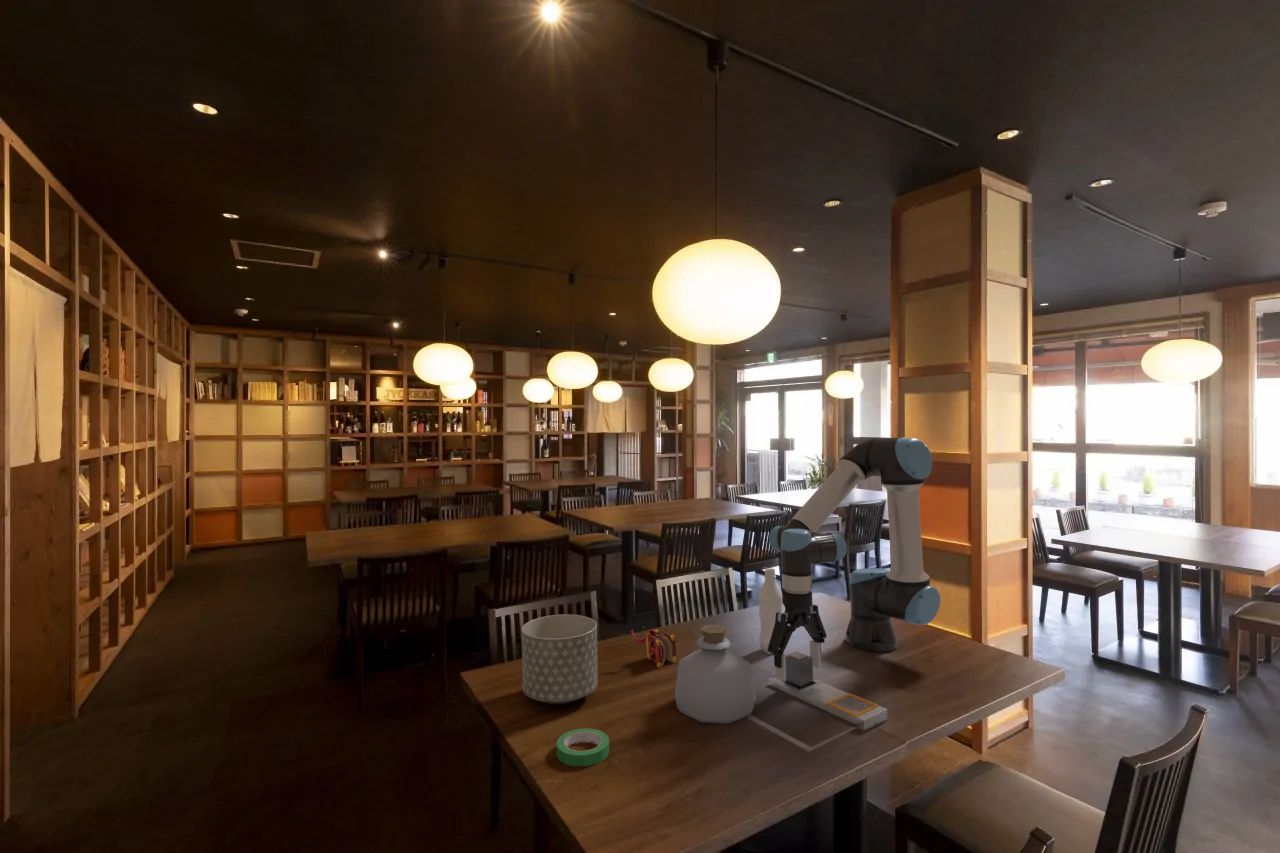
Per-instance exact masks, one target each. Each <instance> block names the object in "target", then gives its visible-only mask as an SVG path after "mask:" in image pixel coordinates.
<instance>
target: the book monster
mask: <svg viewBox="0 0 1280 853" xmlns="http://www.w3.org/2000/svg"><path fill="white" fill-rule="evenodd" d="M630 632H631V636H633V638H634V640H635V641H636V642H637V644H640V643H641V644H642V643H644V642H645V644H646V655H647V656H646V657H647V658H649V659H651V660H650V661H653V663H654V664H656V667H657V668H659V669H661V668H662V666H664V664H665V662H669V661H672V662H673V663H674V662H675V663H676V662H677V660H678V659H677V658H678V657H677V648H676V641H675V640H676V634H670V633H668V632H666V631H665V632H664V631H660V630H659V629H649V630H648V631H647V632H645V636H644V638H641V639H638V638H637V637H636V636H635V633H634V629H632V630H630Z"/></svg>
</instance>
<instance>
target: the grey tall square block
mask: <svg viewBox="0 0 1280 853" xmlns="http://www.w3.org/2000/svg"><path fill="white" fill-rule="evenodd" d="M785 655H786V681H785V683H787V684H789V685H791V686H793V687H796V688H798V689H800V690H801V689H803V688H806V687H808V686H811V685H813V679H814V675H813V674H814V670H813V668H814V667H813V660H812V657H810V655H807V654H803V653H802V652H799V651H796V652H792V653H789V654H785Z"/></svg>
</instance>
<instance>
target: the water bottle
mask: <svg viewBox="0 0 1280 853" xmlns="http://www.w3.org/2000/svg"><path fill="white" fill-rule="evenodd" d="M763 577H764V582H763V584H762V585H761V588H760V589H759V593H758V599H759V600H758V604H759V606H758V608H759V609H758V611H759V612H758V617H759V619H760V620H759V621H760V631H759V639H758V640H759V647H760V650H761V651H762V652H763V653H765V654H767V655H773V653H771V652H768V646H769V642H770V639H771V635H772V632H773V628H774V625H775V620H776V613H777V612H779V613H784V611H783V603H782V590H781V588H780V587H779V585H778V583H777V581H776V578H777V576H776V569H775V568H769V567H768V568H765V569H764V576H763ZM779 650H780V648H779Z"/></svg>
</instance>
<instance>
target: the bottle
mask: <svg viewBox="0 0 1280 853" xmlns="http://www.w3.org/2000/svg"><path fill="white" fill-rule="evenodd" d="M700 631H701V634H702V636H701V637H700V638H698V639H697V640H696V645H697V646H698V647H699V648H701V649H699V650H695V651H693V652H692V653H690V654H688V655H685V656H684V657H682V658H680V659H679V660H678V661H679V662H678V667H677V676H676V681H675V682H676V683H675V689H674V698H675V702H676V703H675V704H676V707H677V709H678V711H679V712H680V713H681V714H682V715H685V716H687V717H689V718H690V719H694V720H695V721H697V722H699V723H708V724H723V725H725V724H726V725H729V724H732V723H734V722H737V721H739V720H740V721H741V720H742V719H745V718H749V716H750V715H751V714H752V713H753V710H754V707H755V703H756V700H757V698H756V697H757V696H756V692H755V686H754V680H753V673H752V667H751V662H749V661H747V660H746V659H745V658H743V657H742V656H740V655H738V654H737V653H735V652H733V651H729V650H728V649H727V648H730V647H731V645H732V642H731V641H730V639H728V638H727V637H725V636H726V631H727V627H725V626H723V625H720V624H705V625H703V626H701V628H700Z"/></svg>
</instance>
